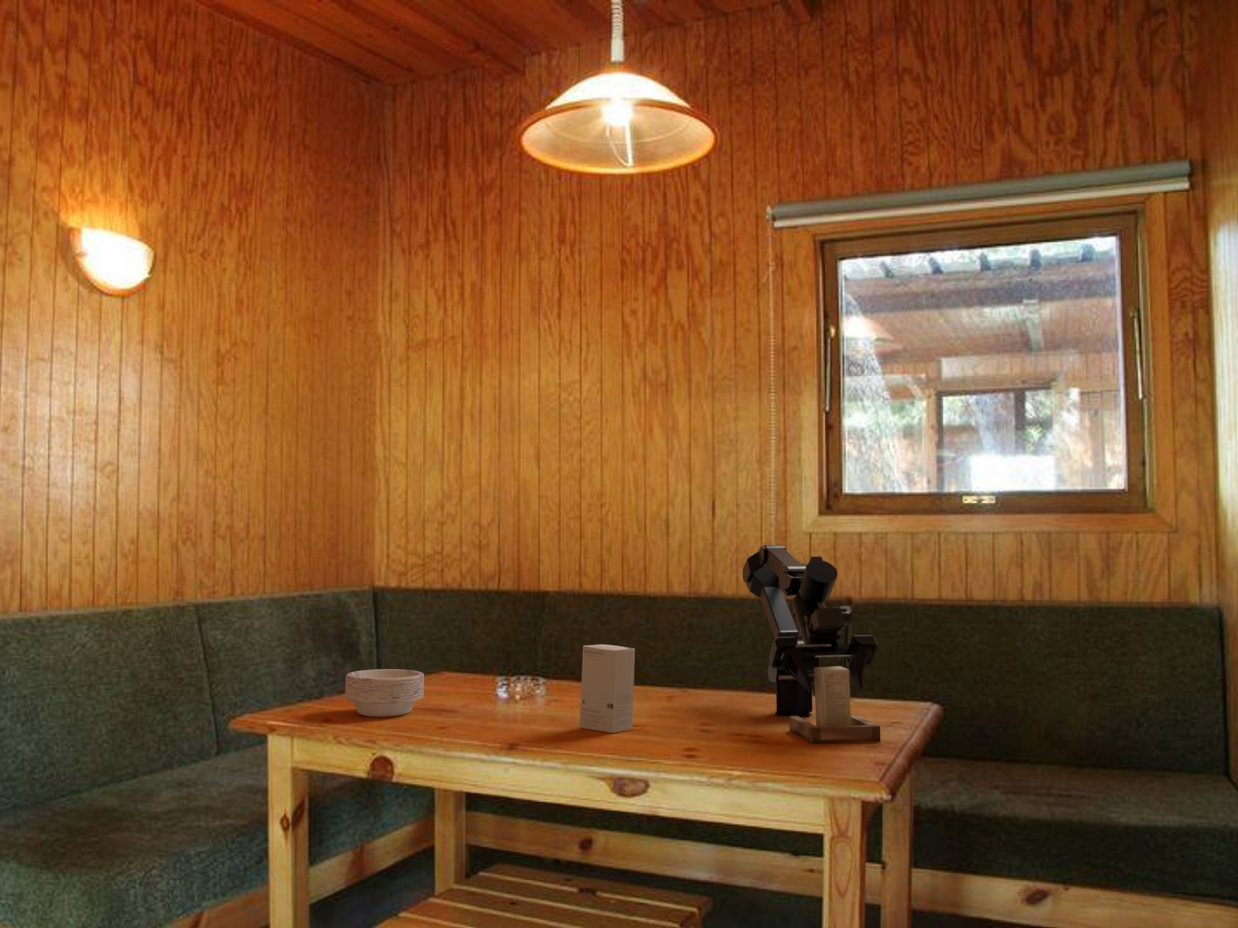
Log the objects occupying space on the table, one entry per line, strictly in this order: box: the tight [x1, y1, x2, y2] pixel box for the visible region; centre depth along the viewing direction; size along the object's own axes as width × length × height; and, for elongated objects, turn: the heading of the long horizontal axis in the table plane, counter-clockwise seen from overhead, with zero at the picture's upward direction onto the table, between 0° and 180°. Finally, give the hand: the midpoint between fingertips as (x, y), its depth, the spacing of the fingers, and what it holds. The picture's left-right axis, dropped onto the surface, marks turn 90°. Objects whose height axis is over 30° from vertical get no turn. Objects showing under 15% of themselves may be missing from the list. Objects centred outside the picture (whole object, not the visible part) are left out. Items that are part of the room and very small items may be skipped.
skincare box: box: [579, 644, 636, 734], centre depth 189 cm, size 8×6×15 cm
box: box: [814, 665, 852, 727], centre depth 181 cm, size 5×4×11 cm
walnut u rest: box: [788, 713, 882, 745], centre depth 181 cm, size 12×12×2 cm
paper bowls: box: [344, 668, 425, 718], centre depth 206 cm, size 15×15×8 cm
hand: (835, 689), depth 180 cm, fingers open, 9 cm apart
